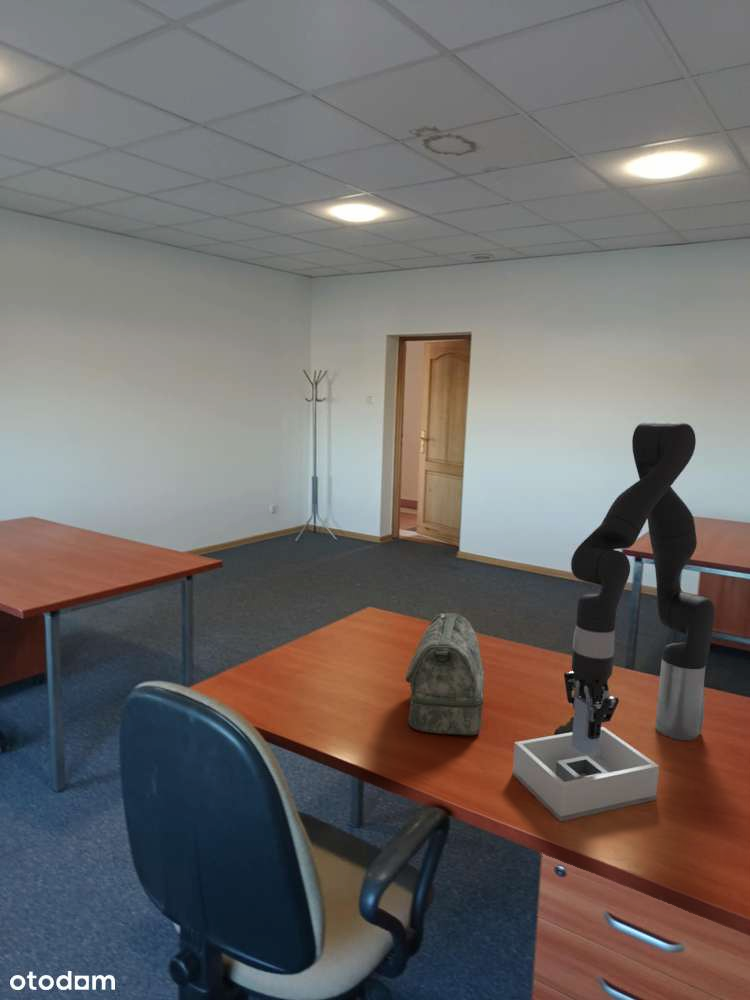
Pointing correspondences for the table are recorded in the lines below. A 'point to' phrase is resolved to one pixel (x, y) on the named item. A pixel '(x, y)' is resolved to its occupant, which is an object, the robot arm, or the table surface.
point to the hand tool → (565, 728)
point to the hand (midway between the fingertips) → (586, 732)
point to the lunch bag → (447, 678)
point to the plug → (583, 728)
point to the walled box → (584, 775)
